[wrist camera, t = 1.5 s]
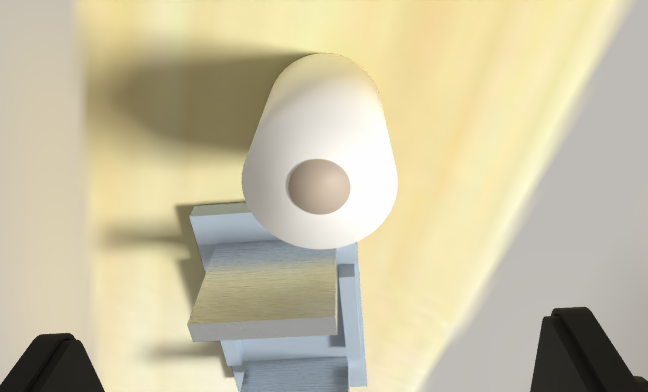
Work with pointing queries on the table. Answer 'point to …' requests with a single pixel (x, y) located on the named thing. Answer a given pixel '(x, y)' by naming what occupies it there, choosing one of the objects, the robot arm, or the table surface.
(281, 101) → the roll
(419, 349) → the table surface
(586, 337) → the robot arm
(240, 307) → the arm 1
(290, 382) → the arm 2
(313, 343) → the holder
